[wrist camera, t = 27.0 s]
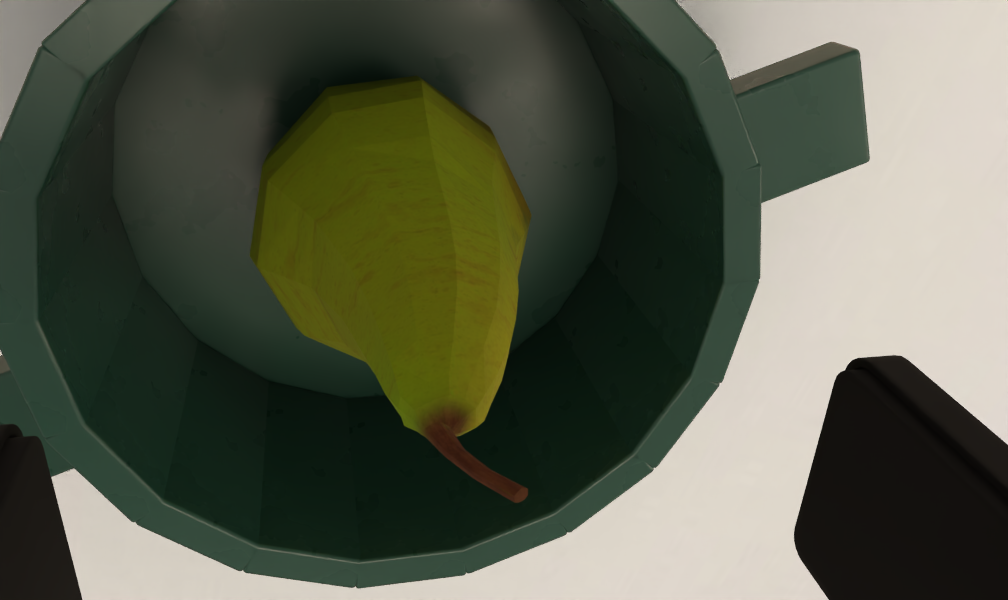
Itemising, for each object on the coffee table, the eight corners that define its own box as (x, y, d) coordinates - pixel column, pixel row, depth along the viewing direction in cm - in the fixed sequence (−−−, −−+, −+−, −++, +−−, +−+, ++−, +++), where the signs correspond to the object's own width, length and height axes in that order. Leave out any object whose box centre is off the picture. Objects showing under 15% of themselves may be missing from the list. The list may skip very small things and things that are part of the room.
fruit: (224, 76, 19) (134, 317, 9) (488, 35, 20) (688, 211, 10) (288, 318, 22) (276, 710, 12) (515, 274, 23) (691, 604, 13)
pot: (-172, 47, 18) (-415, 137, 12) (673, -257, 19) (853, -318, 13) (155, 510, 25) (108, 719, 19) (765, 272, 26) (911, 398, 20)
